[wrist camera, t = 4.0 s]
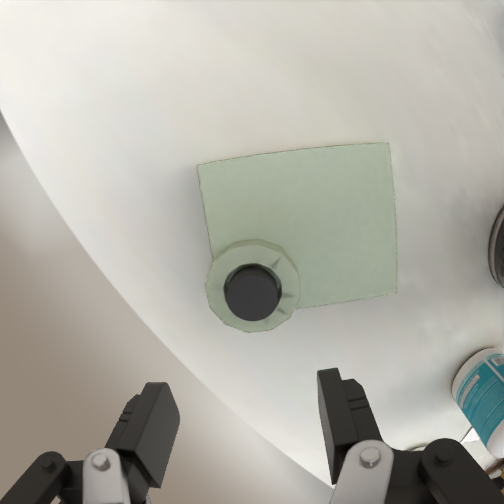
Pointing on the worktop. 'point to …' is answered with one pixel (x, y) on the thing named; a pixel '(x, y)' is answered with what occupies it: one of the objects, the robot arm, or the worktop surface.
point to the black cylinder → (252, 294)
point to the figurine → (500, 479)
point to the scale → (302, 226)
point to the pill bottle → (483, 397)
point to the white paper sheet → (471, 436)
